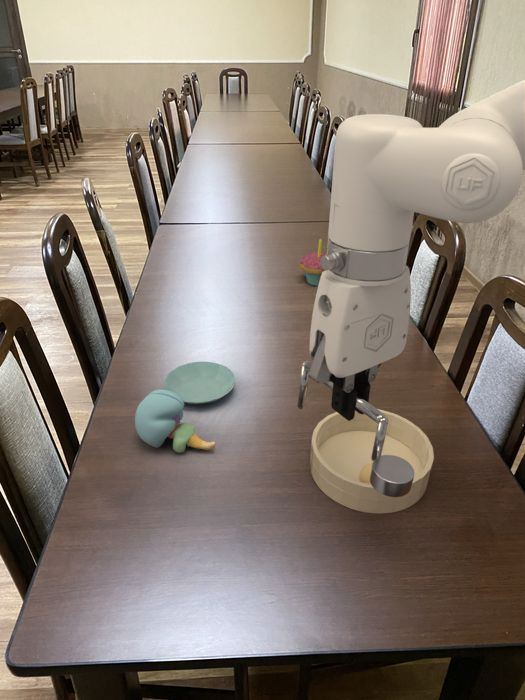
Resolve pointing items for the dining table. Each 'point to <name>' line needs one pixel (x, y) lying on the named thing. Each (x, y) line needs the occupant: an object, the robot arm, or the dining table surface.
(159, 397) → the multicolor toy piece
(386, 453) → the bowl
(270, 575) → the dining table surface
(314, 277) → the cupcake
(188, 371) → the saucer
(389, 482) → the ladle
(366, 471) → the tan ball
